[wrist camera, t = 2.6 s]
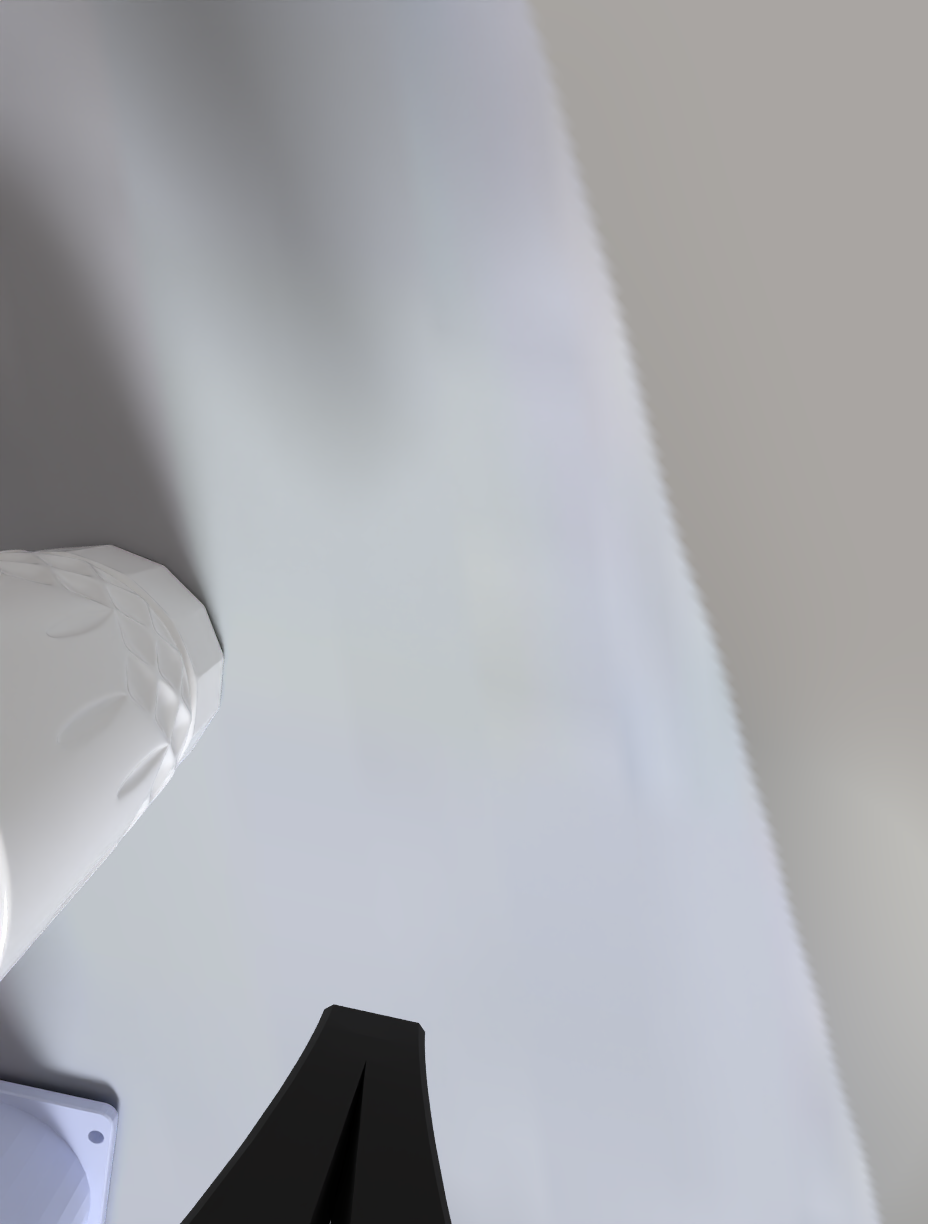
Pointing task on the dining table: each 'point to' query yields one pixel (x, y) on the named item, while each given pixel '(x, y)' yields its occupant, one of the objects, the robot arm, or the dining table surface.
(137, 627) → the white cup
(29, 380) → the dining table surface
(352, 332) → the dining table surface
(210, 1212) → the robot arm
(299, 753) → the dining table surface
